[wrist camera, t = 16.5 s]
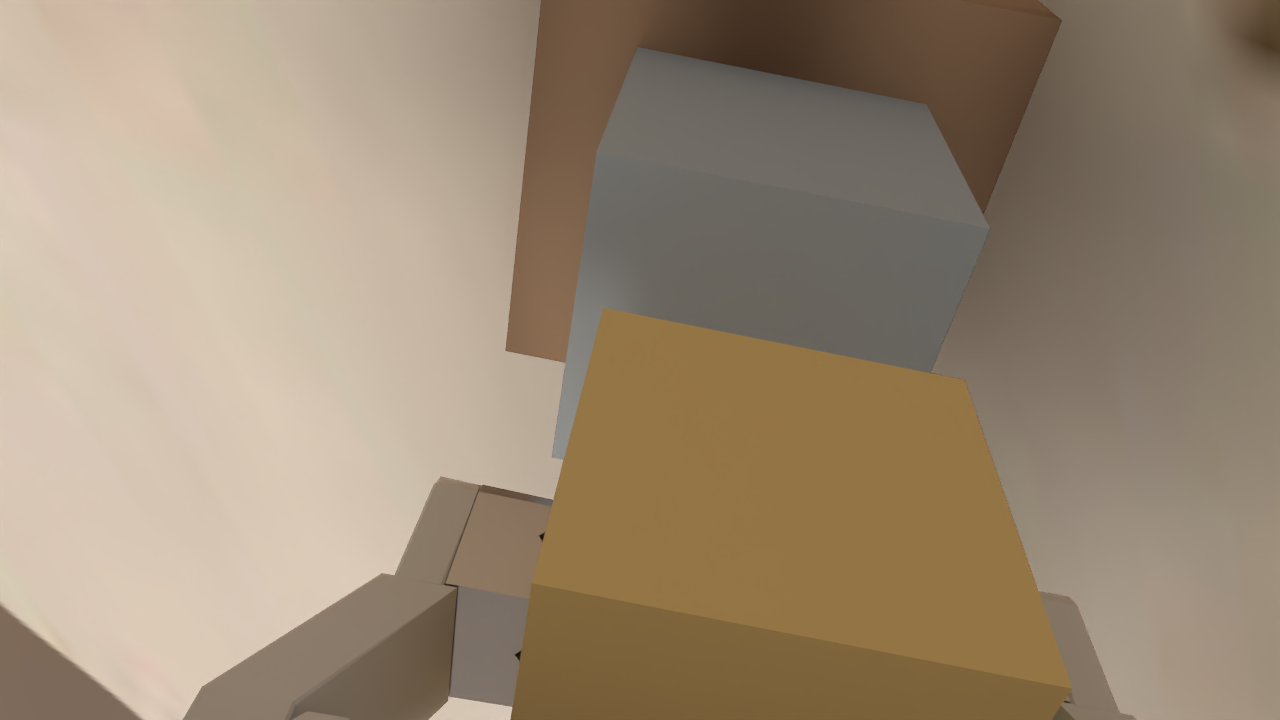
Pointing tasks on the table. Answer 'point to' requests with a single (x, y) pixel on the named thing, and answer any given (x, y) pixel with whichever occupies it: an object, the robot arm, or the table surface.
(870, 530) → the mustard cube
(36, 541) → the table surface
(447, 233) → the table surface
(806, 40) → the walnut base
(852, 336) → the slate cube
